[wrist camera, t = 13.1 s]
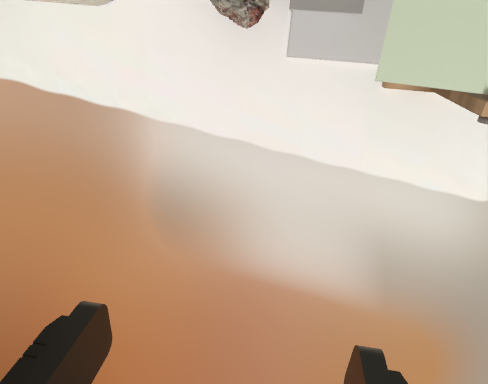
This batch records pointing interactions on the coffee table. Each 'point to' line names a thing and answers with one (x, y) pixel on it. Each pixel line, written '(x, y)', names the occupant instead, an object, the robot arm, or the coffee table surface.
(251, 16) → the mineral rock
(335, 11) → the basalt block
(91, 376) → the robot arm
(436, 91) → the frame
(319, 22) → the mat
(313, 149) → the coffee table surface
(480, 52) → the trapdoor
